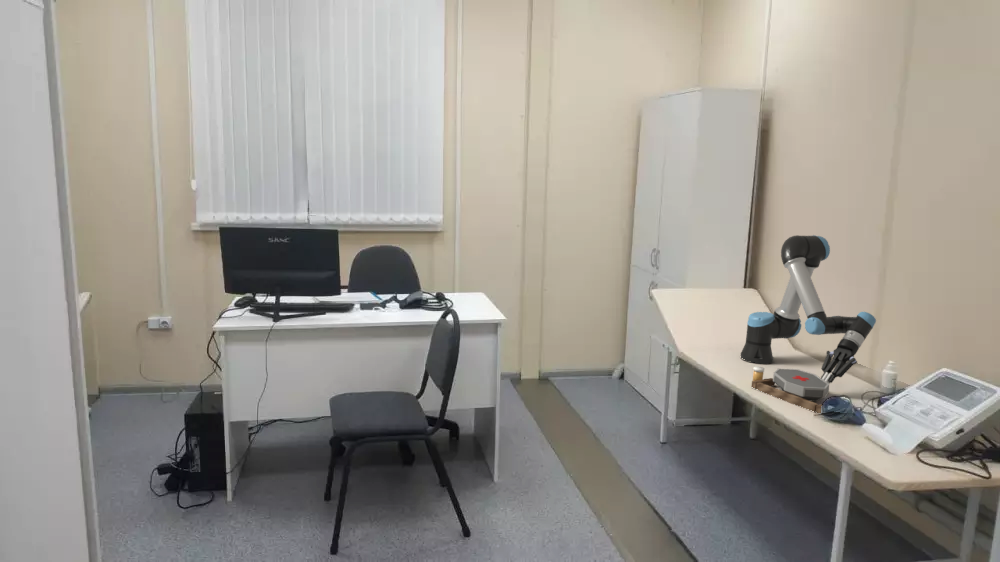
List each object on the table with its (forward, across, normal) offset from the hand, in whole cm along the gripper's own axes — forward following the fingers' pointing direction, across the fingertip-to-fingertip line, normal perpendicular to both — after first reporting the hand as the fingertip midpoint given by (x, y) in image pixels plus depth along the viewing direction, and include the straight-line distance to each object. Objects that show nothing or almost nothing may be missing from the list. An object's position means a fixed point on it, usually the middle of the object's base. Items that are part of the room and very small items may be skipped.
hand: (821, 386), depth 273 cm
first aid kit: (+9, -3, -5) cm, 11 cm away
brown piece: (+13, -1, -8) cm, 15 cm away
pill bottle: (+12, -21, -8) cm, 25 cm away
